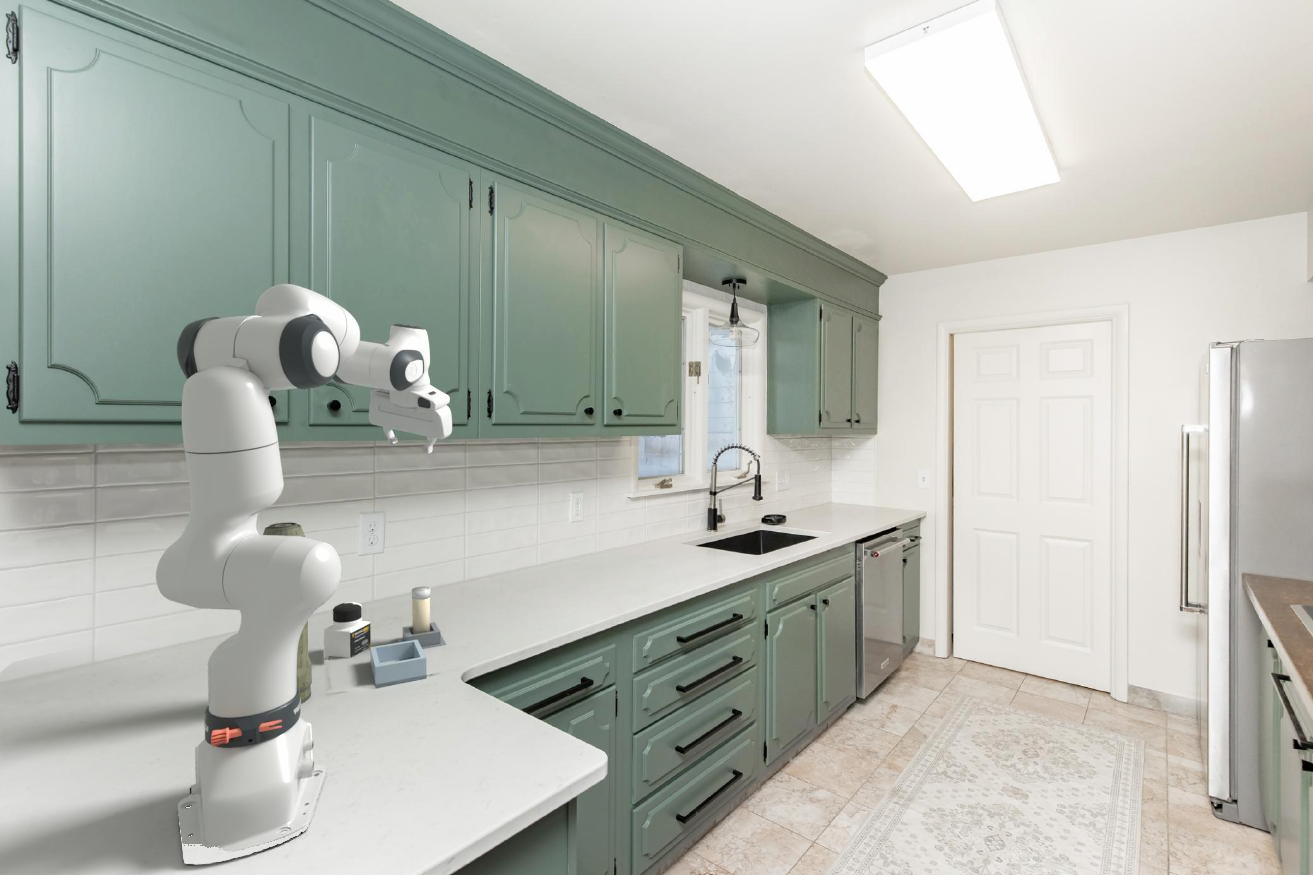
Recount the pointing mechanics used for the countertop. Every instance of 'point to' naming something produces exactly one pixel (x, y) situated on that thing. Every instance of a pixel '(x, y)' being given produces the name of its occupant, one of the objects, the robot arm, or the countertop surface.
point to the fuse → (421, 609)
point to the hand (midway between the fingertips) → (410, 448)
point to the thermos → (302, 653)
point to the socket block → (424, 636)
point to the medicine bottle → (347, 632)
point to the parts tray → (397, 663)
